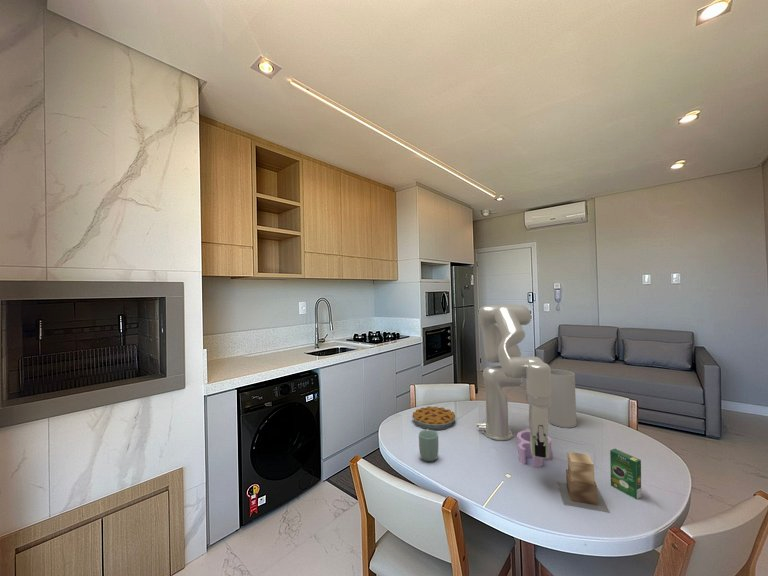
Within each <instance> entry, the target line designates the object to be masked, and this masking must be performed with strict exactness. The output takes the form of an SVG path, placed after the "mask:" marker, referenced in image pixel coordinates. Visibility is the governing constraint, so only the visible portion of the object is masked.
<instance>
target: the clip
mask: <svg viewBox="0 0 768 576" xmlns="http://www.w3.org/2000/svg"><path fill="white" fill-rule="evenodd" d="M516 438H517V439H516V440H517V442H516V443H517V454H518V461H519V462H520V464H522V465H526V464H527V460H526V458H529V459H532V467H533V468H540V467H542V466H544V465H543V464H544V462H543V461H551V460H552V453H553V451H552V438H551V437H550V436H549V435H547V438H548V452H549V458H544V457H537V456H532V453H531V448H530V428H526V429H525V430H521V431H518V432H517V434H516Z"/></svg>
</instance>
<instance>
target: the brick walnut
mask: <svg viewBox="0 0 768 576" xmlns="http://www.w3.org/2000/svg"><path fill="white" fill-rule="evenodd" d="M565 477H566V478H565V480H566V481H565V483H566V484H567V490H568V493H569V496H570V499H571V501H575V502H580V503H586V504H592V505H597V506H598V500H597V488H598V485H597V482H596V480H594V482H595V484H589V483H583V482H577V481H572V479H571V477H570V474H569V472H568V468H566V470H565Z"/></svg>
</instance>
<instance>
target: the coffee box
mask: <svg viewBox="0 0 768 576" xmlns="http://www.w3.org/2000/svg"><path fill="white" fill-rule="evenodd" d="M609 455H610V457H609V458H610V459H609V461H610V465H609V466H610V467H609V468H610V486H611V487H613V489H614V488H615V489H616V490H618V491H620V492H622V493H624V494H625V495H628V496H629V497H631V498H633V499H634V500H638V499H641V497H642V460H641V459H639V458H637V457H635V456H632V455H630V454H629V453H626V452H624V451H622V450H619V449H617V448H612V449H610V452H609Z"/></svg>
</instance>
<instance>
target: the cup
mask: <svg viewBox="0 0 768 576" xmlns="http://www.w3.org/2000/svg"><path fill="white" fill-rule="evenodd" d="M418 447H419V449H418V450H419V455H420V457H421V459H422V460H423V461H426V462H433V461H435V460H437V458H438V454H439V433H438V432H437V430H432V429H422V430H420V431H419V433H418Z"/></svg>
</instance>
